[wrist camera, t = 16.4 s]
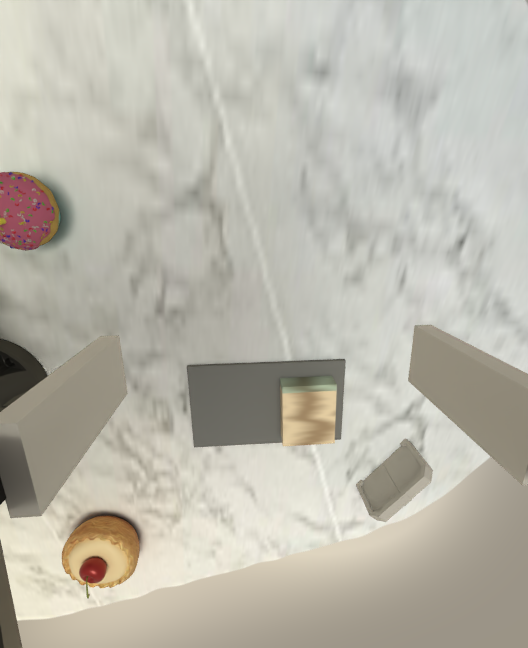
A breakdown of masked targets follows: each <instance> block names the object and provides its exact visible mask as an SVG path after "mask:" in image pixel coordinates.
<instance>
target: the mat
mask: <svg viewBox="0 0 528 648" xmlns="http://www.w3.org/2000/svg"><path fill="white" fill-rule="evenodd" d="M187 372H188V384H189V395H190V406H191V417H192V429H193V440H194V447H208V446H227V445H245V444H264V443H282V438H281V406H280V378H294V377H314V376H332V377H333V379H334V380H335V382H336V384H337V394H336V419H335V440H338V439H341V429H342V411H343V394H344V377H345V359H336V360H311V361H285V362H260V363H235V364H210V365H188V366H187Z"/></svg>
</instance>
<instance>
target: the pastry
mask: <svg viewBox="0 0 528 648" xmlns="http://www.w3.org/2000/svg"><path fill="white" fill-rule="evenodd" d="M138 557H139V540H138V536H137V533H136V531H135V529H134V528H133V527H132V526H131V525H130V524H129V523H128V522H127V521H125V520H123V519H121V518H119V517H115V516H106V515H105V516H97V517H94V518H92V519H89V520H87V521H86V522H84V523H82V524H81V525H80V526H79V527H77V528H76V529H75V530H74V532H73V533H72V534H71V535H70V537H69V539H68V540H67V542H66V543H65V545H64V548H63V551H62V565H63V567H64V569H65V572H66V573H67V574H70V576H71V578H72V579H73V580H78V581H79V583H80V584H81V585H85V584H86V591H87V598H89V595H90V594H88V587H87V584H88V585H89V586H90V587H95V586H99V587H100V588H105V587H108V586H109V587H110V588H111V587H114V586H115V585H117V584H121V583H123V582H124V581H126V580H127V579H128V578H129V577H130V576H131V575H132V574H133V572H134V571H135V568H136V566H137V561H138Z"/></svg>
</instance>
